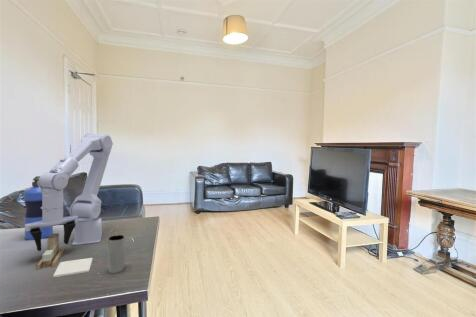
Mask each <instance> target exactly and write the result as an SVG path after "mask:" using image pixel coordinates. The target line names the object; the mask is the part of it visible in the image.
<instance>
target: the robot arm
mask: <svg viewBox="0 0 476 317" xmlns="http://www.w3.org/2000/svg"><path fill="white" fill-rule="evenodd" d="M113 145H114V142H113V141H112V137H111V136H110V135H109V134H106V133H105V134H101V133H100V134H99V133H98V134H94V133H93V134H92V133H86V134H84V135H83V137H82V138H80V143H79V145H77V147H76V148H75V149H74V151H72V153H71V154H70V155H69V156H64V157H61V158H60V159H59V162H58V163H57V164H55V165H54V166H53V167H52V168H51V169H50V170H49V172H44V173H43V174H41V175H39V176H40V178H39V181H37V184H38V186H39V188H40V189H41V193H42V220H41V221H37V222H33V223H29V224H25V223H24V232H25V231H29V232H30V233H31V235H32V237H33V238H34V240H33V241H34V242H35V246H36V250H37V251H38V252H40V251H42V239H41V234H42V232H41V231H40V229H39V228H44V227H50V226H53V227H54V226H58V225H59V226H60V225H63V243H64V244H65V245H68V244H69V242H70V238H71V235H72V233H73V231H74V240H72V243H71V246H79V245H87V244H95V243H101V240H102V236H103V231H102V228H103V227H102V219H103V218H102V217H99V216H100V214H101V211H102V203H103V201H102V200H101V199H100V197H98V194H99V190H100V187H101V183H102V181H103V177H104V174H105V171H106V168H107V164H108V162H109V156H110V154H111V151H112V147H113ZM88 154H89V155H91V156H92V157H93V159H92V162H91V165H90V168H89V172H88V174H87V178H86V181H85V184H84V187H83V190H82V193H81V194H79V195H77V196H76V197H75V198H74V200H73V202H72V204H71V205H70V207H69V211H68V212H69V215H70V216H64V189H65V188H66V187H67V186H68V183H69V180H70V177H71V176H72V175H73V173H75V172H76V171H77V169H78V168H79V162H80V161H81V160H83V158H85V157H86V156H87V155H88Z"/></svg>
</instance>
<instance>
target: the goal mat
mask: <svg viewBox="0 0 476 317" xmlns="http://www.w3.org/2000/svg"><path fill="white" fill-rule="evenodd" d="M93 259H94V258H93V257H88V258H81V259H80V258H79V259H73V260H66V261H60V263H59V264H58V265H57V268H56V270H55V272H54V273H53V276H52V278H60V277H67V276H73V275H79V274H85V273H89V272H90V271H91V270H90V269H91V266H92V262H93Z"/></svg>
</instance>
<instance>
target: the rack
mask: <svg viewBox="0 0 476 317" xmlns="http://www.w3.org/2000/svg"><path fill="white" fill-rule="evenodd" d="M65 247H66V246H64V245H63V246H61V248H59V252H58V254H57V255H56V257H55V259H54V260H53V262H52V265H51V268H55V267H56V265H57V264H58V262H59V260H60V258H61V256H63V253H64V251H65ZM42 267H43V258H41V259H40V260H39V262H38V263H37V264H36V270H40V269H41V268H42Z"/></svg>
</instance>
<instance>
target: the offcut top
mask: <svg viewBox="0 0 476 317" xmlns="http://www.w3.org/2000/svg"><path fill="white" fill-rule="evenodd" d="M53 256H54V249H53V250H47V249H46V250H45V251H44V253H42V258H43V262H44V261H50V260H51V259H52V257H53ZM42 258H41V259H42Z"/></svg>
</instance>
